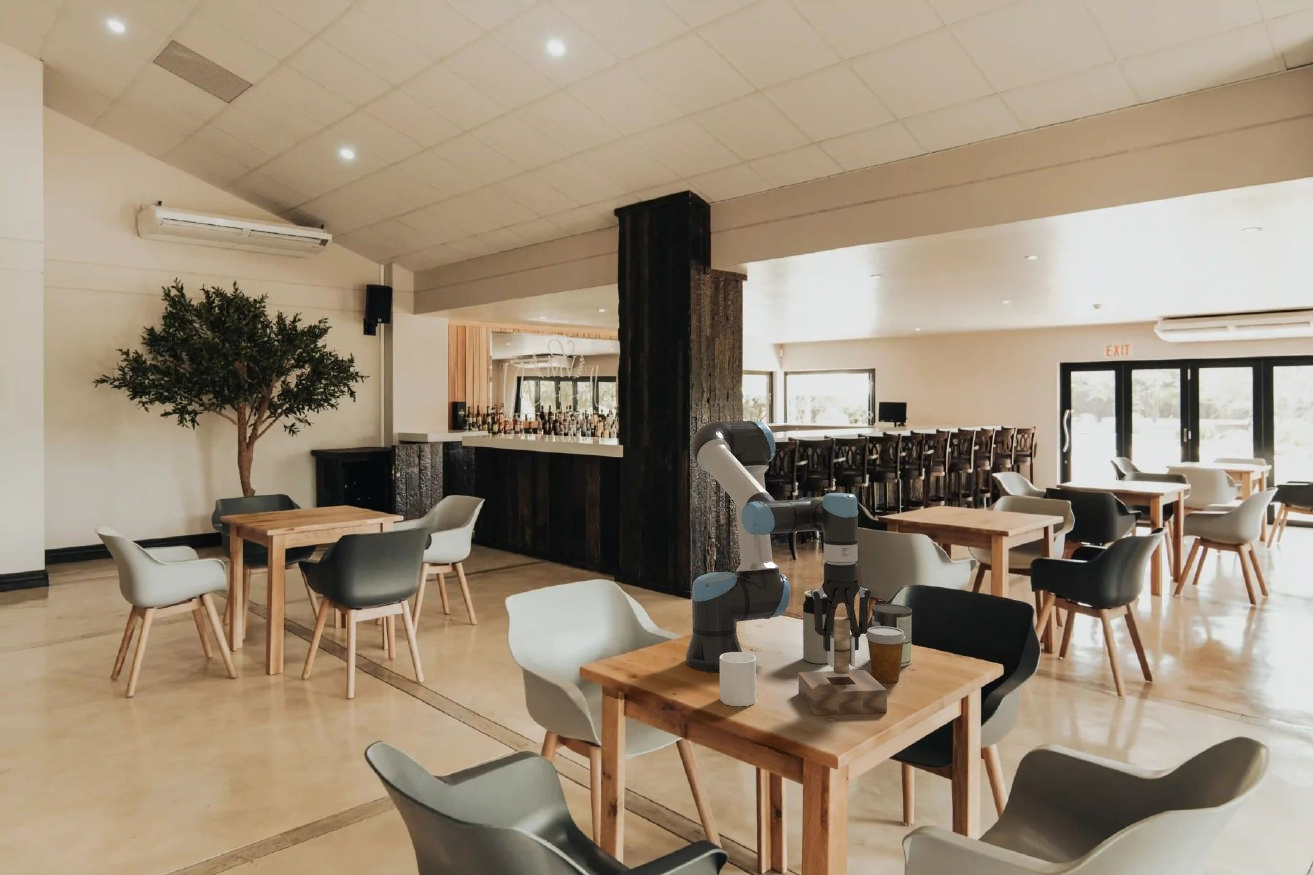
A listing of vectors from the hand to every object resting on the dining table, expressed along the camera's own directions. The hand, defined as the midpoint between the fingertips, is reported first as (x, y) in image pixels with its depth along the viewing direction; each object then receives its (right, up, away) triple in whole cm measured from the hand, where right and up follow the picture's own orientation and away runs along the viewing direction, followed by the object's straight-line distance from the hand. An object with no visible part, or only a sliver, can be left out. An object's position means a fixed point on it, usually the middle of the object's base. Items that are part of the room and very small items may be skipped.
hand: (841, 664), depth 180 cm
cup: (-22, -9, +3) cm, 24 cm away
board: (0, -9, 0) cm, 9 cm away
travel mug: (+1, -8, +32) cm, 34 cm away
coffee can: (+21, -8, +31) cm, 38 cm away
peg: (0, -2, 0) cm, 2 cm away
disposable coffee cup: (+15, -8, +16) cm, 24 cm away
